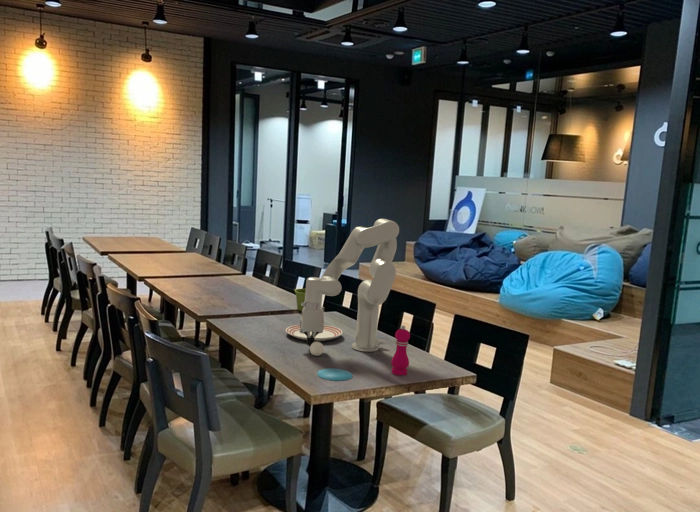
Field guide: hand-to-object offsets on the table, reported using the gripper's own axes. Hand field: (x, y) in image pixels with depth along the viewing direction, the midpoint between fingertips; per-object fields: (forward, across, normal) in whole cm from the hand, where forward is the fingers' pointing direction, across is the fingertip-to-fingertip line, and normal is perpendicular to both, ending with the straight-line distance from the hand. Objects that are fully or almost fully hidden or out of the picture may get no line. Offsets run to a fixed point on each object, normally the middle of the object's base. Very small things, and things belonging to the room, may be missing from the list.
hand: (310, 345), depth 269 cm
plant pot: (+2, +18, +74) cm, 76 cm away
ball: (-1, 0, -9) cm, 9 cm away
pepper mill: (+2, +27, -36) cm, 45 cm away
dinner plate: (+2, +8, +21) cm, 22 cm away
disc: (+2, 0, -34) cm, 34 cm away
